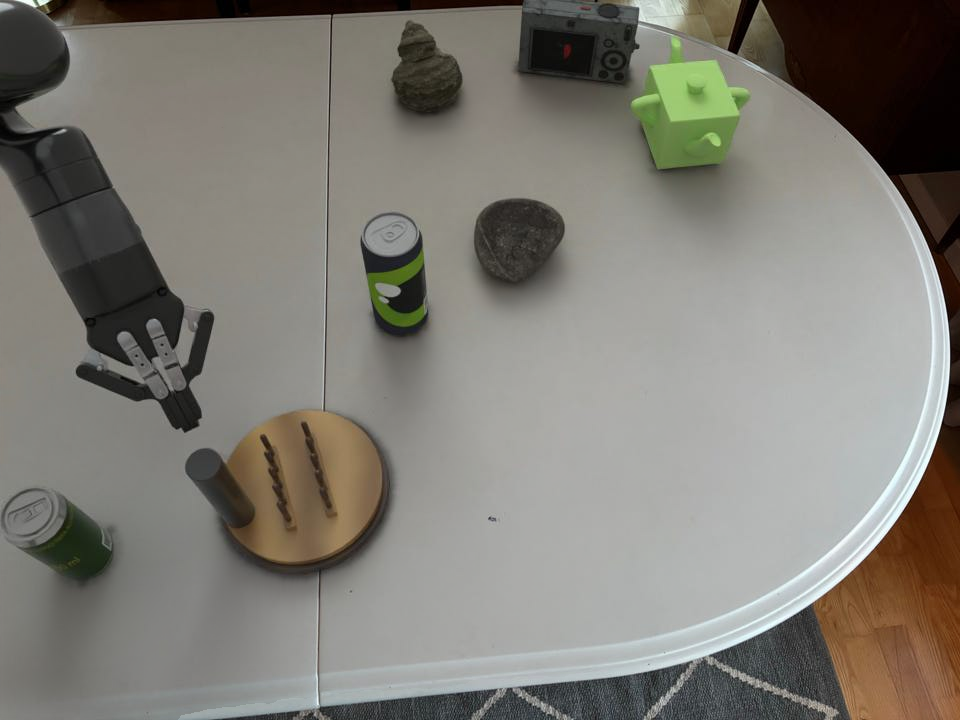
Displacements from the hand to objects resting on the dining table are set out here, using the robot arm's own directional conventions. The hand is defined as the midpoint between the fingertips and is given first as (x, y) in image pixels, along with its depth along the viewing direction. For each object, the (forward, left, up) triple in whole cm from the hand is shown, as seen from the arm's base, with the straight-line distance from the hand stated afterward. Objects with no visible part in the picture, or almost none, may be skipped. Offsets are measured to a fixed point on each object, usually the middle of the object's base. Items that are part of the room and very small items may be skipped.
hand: (192, 427), depth 73 cm
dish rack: (+8, -5, -9) cm, 13 cm away
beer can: (-14, -4, -10) cm, 18 cm away
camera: (+59, +44, -10) cm, 74 cm away
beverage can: (+23, +12, -10) cm, 28 cm away
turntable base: (+8, -5, -10) cm, 14 cm away
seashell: (+37, +45, -10) cm, 59 cm away
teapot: (+66, +26, -10) cm, 72 cm away
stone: (+39, +16, -10) cm, 43 cm away
